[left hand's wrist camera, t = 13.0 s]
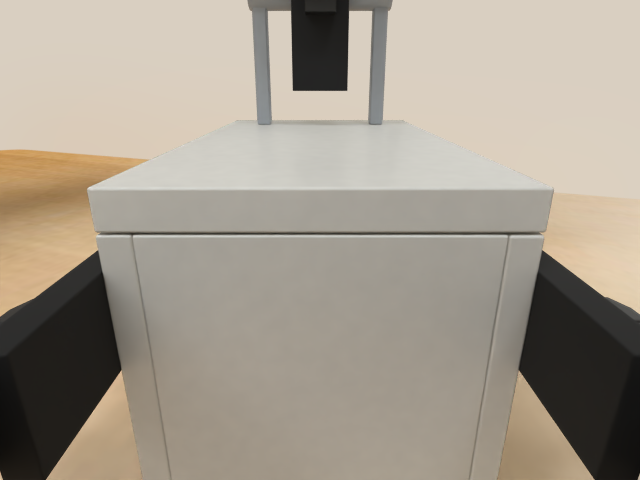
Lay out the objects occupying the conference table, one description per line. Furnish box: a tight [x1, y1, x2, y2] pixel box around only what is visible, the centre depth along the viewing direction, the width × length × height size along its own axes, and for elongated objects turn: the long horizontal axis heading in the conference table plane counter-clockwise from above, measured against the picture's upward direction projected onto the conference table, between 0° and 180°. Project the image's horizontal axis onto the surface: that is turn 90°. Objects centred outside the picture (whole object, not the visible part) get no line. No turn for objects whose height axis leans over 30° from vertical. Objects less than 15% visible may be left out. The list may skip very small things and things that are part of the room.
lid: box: [87, 0, 554, 233], centre depth 16 cm, size 18×10×8 cm, turn 0°
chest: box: [96, 232, 544, 480], centre depth 19 cm, size 16×10×9 cm, turn 0°
